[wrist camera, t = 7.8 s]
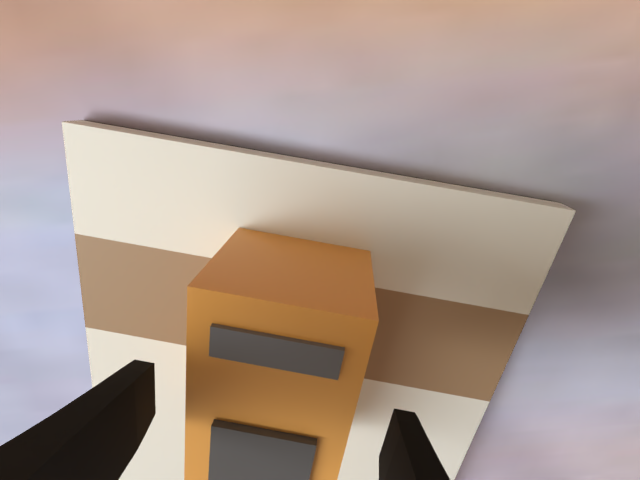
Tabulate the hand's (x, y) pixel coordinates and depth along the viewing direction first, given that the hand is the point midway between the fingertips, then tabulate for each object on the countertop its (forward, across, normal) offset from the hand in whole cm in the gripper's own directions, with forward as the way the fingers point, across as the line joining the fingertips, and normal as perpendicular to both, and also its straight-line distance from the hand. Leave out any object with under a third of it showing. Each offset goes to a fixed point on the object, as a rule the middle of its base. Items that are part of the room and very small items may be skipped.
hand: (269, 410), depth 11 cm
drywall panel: (+6, 0, +5) cm, 7 cm away
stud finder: (+4, 0, +1) cm, 5 cm away
